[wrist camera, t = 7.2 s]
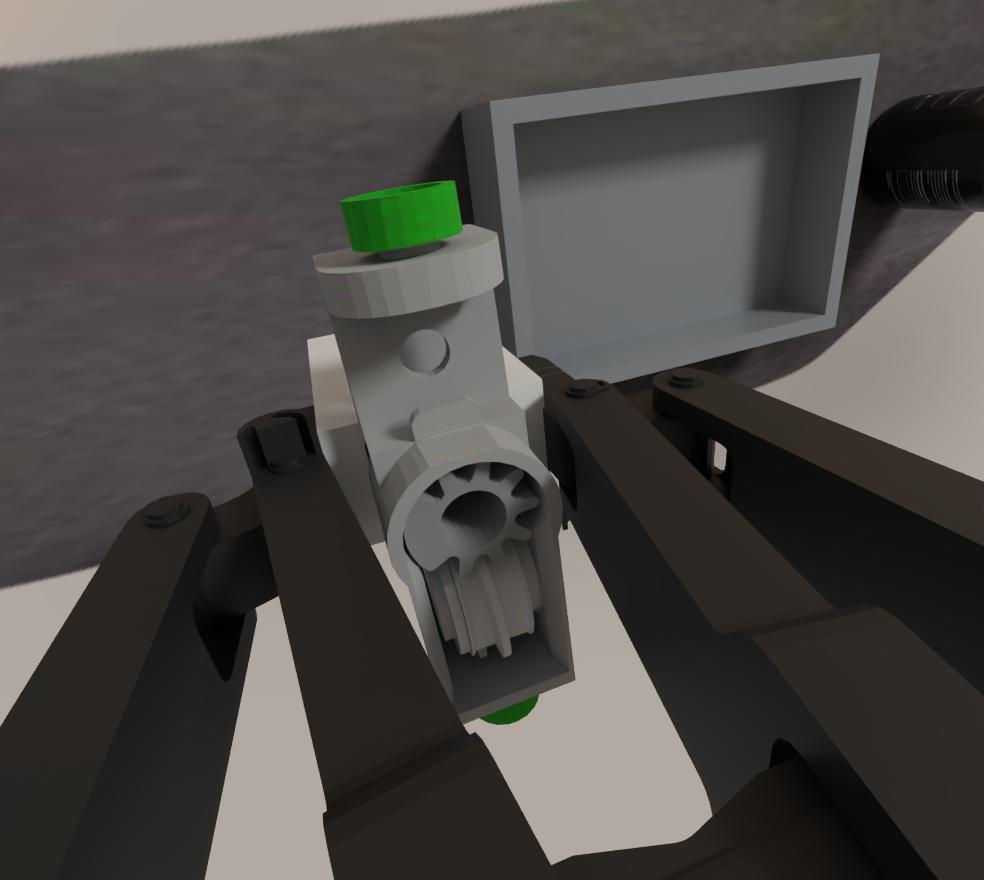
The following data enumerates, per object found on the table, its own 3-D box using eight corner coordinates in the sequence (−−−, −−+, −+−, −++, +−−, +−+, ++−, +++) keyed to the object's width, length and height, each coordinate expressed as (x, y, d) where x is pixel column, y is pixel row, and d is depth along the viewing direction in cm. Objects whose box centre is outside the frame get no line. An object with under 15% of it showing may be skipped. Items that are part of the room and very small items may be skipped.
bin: (494, 378, 36) (522, 406, 32) (460, 110, 30) (489, 101, 25) (778, 310, 41) (835, 326, 37) (805, 67, 34) (879, 53, 30)
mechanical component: (396, 170, 16) (526, 171, 7) (461, 480, 20) (585, 704, 12) (288, 190, 15) (286, 217, 6) (381, 504, 20) (450, 758, 11)
